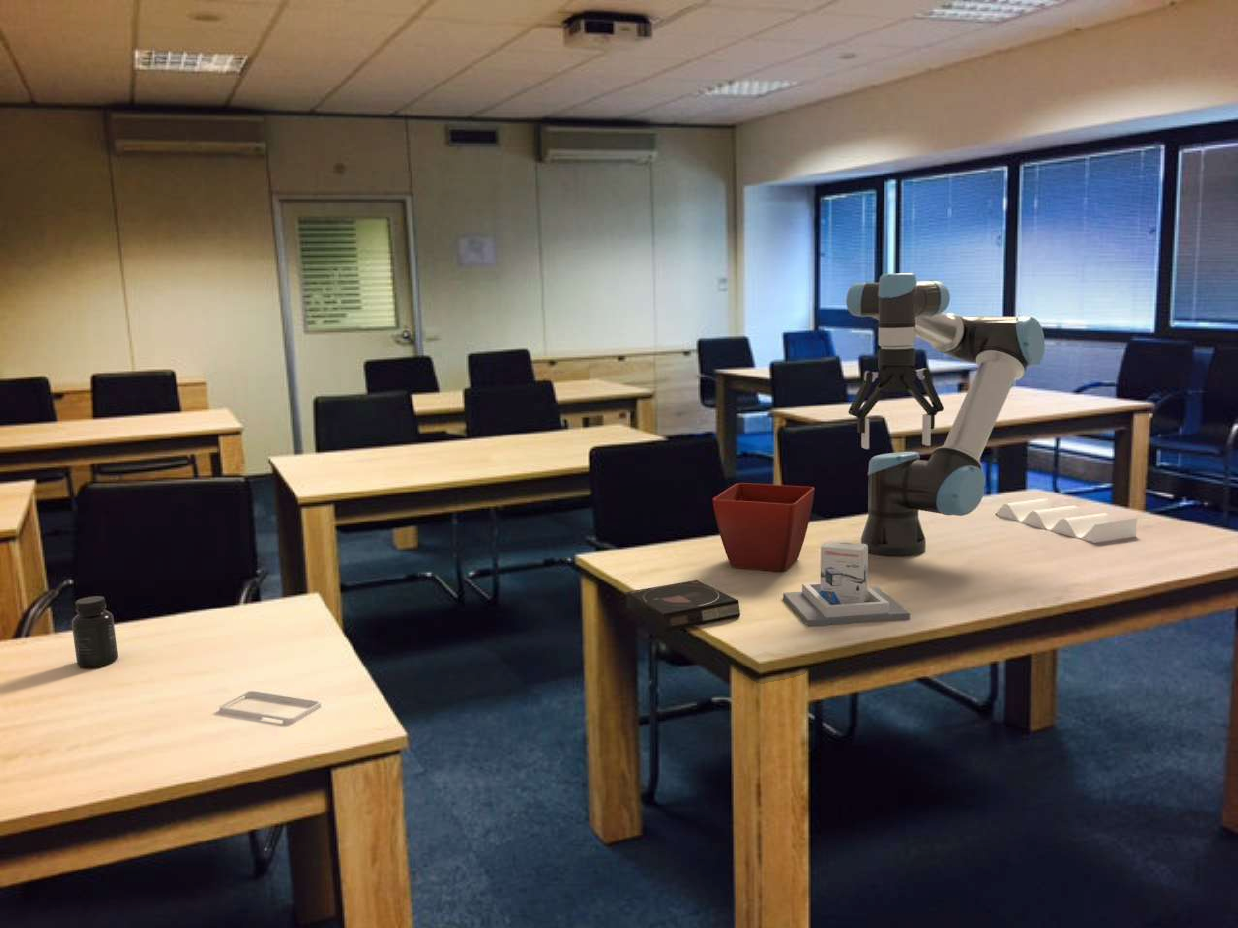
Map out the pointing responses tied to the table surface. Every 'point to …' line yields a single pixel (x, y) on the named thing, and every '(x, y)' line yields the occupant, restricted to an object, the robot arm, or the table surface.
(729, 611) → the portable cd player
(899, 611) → the square ring on plate
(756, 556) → the plant pot
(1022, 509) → the white wavy ridged block
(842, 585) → the ink box
